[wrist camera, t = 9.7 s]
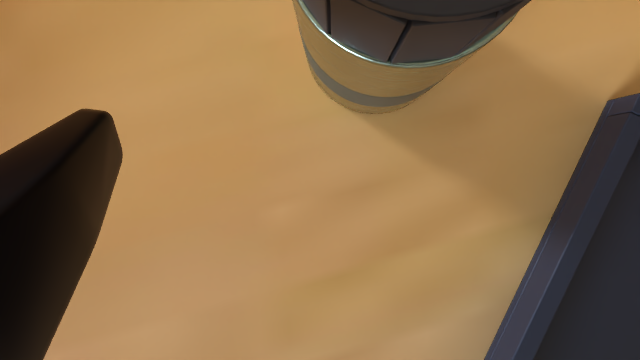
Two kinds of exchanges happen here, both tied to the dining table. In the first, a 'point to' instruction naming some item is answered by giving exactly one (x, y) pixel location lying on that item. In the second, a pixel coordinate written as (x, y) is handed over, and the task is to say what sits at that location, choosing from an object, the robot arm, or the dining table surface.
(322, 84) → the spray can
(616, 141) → the tray
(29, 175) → the robot arm
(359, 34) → the cap
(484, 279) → the dining table surface
